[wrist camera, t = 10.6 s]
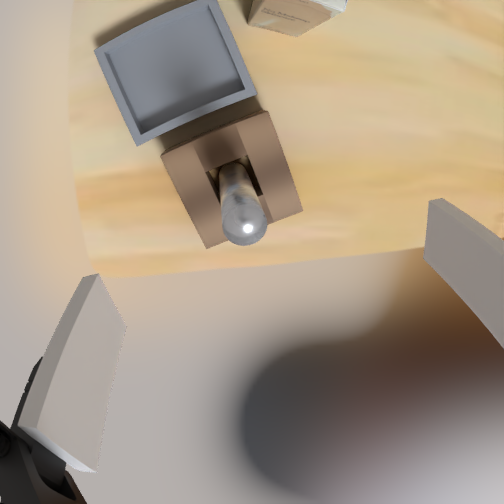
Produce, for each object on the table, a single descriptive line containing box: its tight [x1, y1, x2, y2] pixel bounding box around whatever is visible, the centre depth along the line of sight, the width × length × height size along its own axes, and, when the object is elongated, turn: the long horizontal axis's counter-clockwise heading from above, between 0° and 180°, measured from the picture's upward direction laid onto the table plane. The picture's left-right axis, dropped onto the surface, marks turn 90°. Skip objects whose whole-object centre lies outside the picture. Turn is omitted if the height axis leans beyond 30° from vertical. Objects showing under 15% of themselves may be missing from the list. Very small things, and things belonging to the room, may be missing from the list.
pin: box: [219, 162, 267, 246], centre depth 24 cm, size 3×3×12 cm
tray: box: [94, 0, 257, 146], centre depth 23 cm, size 11×12×2 cm
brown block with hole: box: [160, 110, 303, 249], centre depth 28 cm, size 10×10×3 cm
